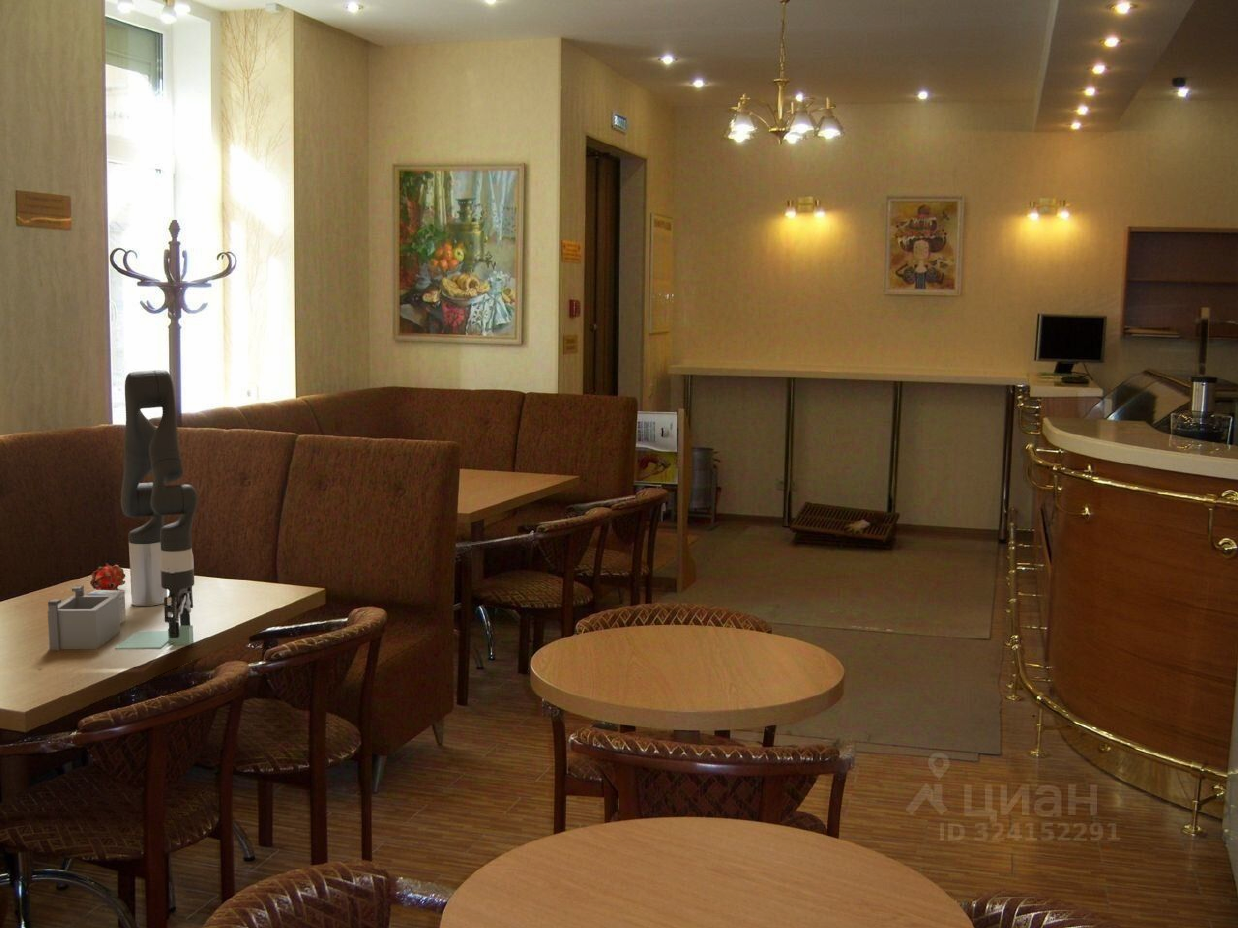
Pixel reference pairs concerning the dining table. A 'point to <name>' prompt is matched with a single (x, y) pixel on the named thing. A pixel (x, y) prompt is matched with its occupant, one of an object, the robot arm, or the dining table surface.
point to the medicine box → (121, 600)
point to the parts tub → (83, 620)
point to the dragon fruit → (107, 578)
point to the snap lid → (157, 639)
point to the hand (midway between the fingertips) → (180, 632)
